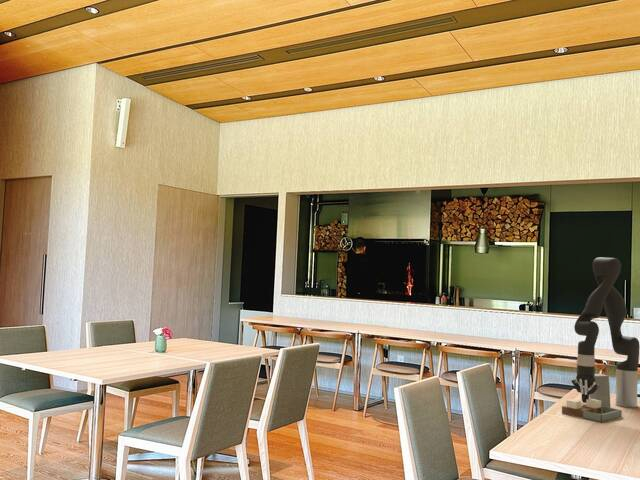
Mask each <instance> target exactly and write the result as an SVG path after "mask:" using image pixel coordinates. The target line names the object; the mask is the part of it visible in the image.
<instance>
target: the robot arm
mask: <svg viewBox="0 0 640 480" xmlns="http://www.w3.org/2000/svg"><path fill="white" fill-rule="evenodd" d="M621 269H622V264H621V261H620V260H619V259H618V258H615V257H602V256H601V257H596V258H594V259H593V262H592V271H593V274H594V277H595V280H596V282H597V286H598V287H597V288H596V289H595V290H593V292H591V294H590V295H589V297H588V298H587V301H586V303H585V307H584V309H583V311H582V312H581V313H580V315H579V317H578V318H577V319H576V321H575V323H574V331H575V333H576V335H579V336H583V337H584V336H585V339H584V340H581V341H579V342H577V343H578V344H577V355H576V356H577V357H576V376H575V379H572V380H571V383H572V384H573V387H574V389H575V390H576V391H577V393H580V394H581V402H582V403H585V404H586V400H587V399H590V394H593V393H594V392H595V391H596V390H597V389H598V388H599V387H600V384H597V383H596V382H595V378H594V376H595V374H596V372H595V371H596V358H595V349H596V348H595V346H596V344H597V343H596V342H597V339H598V337H599V334H600V333H599V332H600V328H599V325H598V322H595V321H593V320H595V319H598V318H600V317H601V313H602V310H603V307H604V311H605V314H606V317H607V322H608V325H609V327H608V328H609V331H610V338H611V339H610V340H611V344H612V345H611V346H612V349H613V351H614V353H615V354H616V355H620V356H627V357H626V360H623V361H619V362H617V363H616V365H615V366H616V369H615V380H616V381H615V405H617V406H619V407H625V408H637V407H638V384H639V383H638V379H639V378H638V377H639V376H638V375H639V373H638V369H639V363H640V361H639V360H640V341H639V339H638V338H637V337H635V336H634V337H633V336H628V335H627V336H626V335H623V334H622V325H623V322H624V321H625V320H626V318H627V317H626V316H627V315H628V314H627V313H628V310H627V306H626V302H625V299H624V297H623V296H622V294H621V292H619V291H618V290H617V289H616V288H615V286H614V285H615V283H616V281H617V279H618V278H619V275H620V273H621ZM592 385H593V388H592V389H591V386H592ZM590 389H591V390H590Z"/></svg>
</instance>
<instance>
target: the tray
mask: <svg viewBox="0 0 640 480" xmlns="http://www.w3.org/2000/svg"><path fill="white" fill-rule="evenodd" d="M622 411H623V410H622V409H618V408H614V407H611V408H609V407H604V406H602V410H601V413H598V414H597V413H592V412H587V411H583V418H584V419H583V418H582V419H583V420H589V421H593V422H597V423H605V422H609V421H613V420H617V419H621V418H622V415H623V414H622Z"/></svg>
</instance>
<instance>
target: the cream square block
mask: <svg viewBox="0 0 640 480" xmlns="http://www.w3.org/2000/svg"><path fill="white" fill-rule="evenodd" d="M581 403H582V400H578V399H572V398H571V399H566V405H567V407H569V408H574V409H578V408H581Z"/></svg>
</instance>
